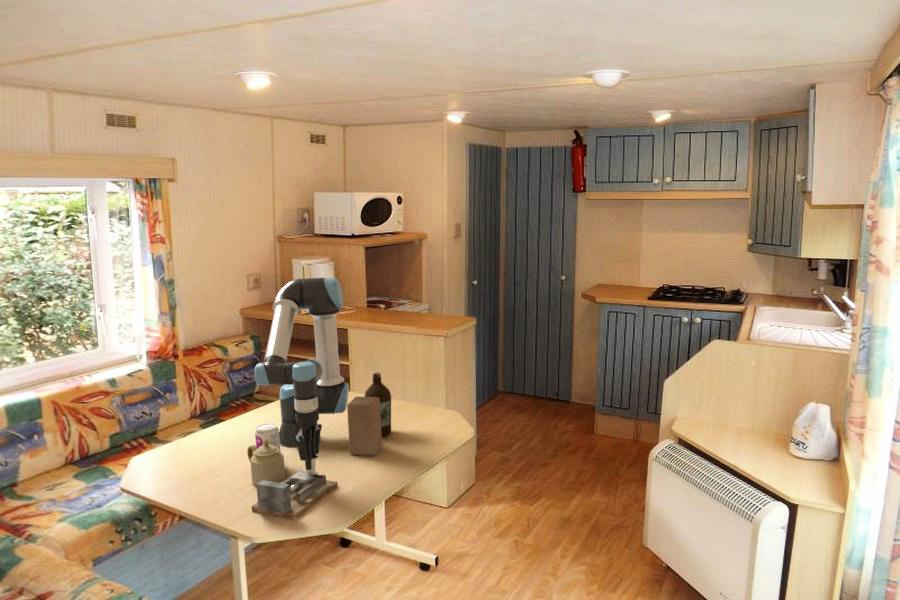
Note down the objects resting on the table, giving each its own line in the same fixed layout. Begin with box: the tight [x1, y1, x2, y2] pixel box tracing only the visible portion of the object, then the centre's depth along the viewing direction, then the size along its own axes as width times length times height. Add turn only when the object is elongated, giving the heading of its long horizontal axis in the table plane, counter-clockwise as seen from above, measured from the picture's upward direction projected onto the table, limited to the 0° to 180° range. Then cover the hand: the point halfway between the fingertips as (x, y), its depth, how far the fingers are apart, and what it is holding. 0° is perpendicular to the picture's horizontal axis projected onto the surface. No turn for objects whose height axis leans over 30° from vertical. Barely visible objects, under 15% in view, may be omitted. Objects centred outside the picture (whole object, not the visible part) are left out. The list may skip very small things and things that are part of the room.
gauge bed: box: [251, 470, 339, 520], centre depth 217 cm, size 16×24×10 cm, turn 158°
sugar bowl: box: [247, 439, 286, 487], centre depth 231 cm, size 15×11×15 cm
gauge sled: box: [289, 470, 324, 494], centre depth 219 cm, size 10×11×5 cm
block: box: [346, 396, 383, 457], centre depth 254 cm, size 10×10×20 cm
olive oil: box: [364, 372, 392, 438], centre depth 271 cm, size 11×11×25 cm
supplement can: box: [254, 423, 282, 453], centre depth 242 cm, size 8×8×15 cm
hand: (311, 477), depth 225 cm, fingers closed
